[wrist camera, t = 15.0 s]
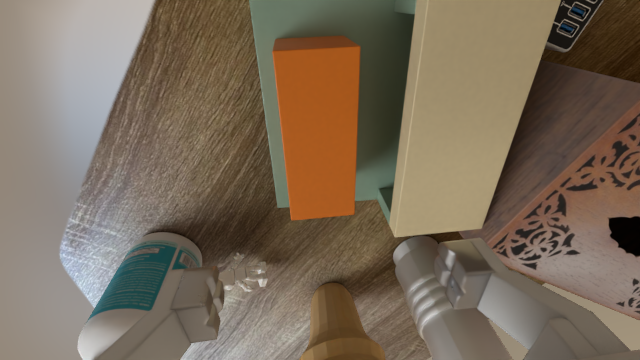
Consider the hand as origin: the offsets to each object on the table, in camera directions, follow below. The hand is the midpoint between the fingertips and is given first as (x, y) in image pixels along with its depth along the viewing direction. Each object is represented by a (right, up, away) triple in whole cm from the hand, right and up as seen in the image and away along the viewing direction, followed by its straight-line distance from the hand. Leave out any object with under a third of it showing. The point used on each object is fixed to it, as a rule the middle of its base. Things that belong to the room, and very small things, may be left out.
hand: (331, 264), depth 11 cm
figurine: (-12, -10, +26) cm, 30 cm away
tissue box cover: (+25, +4, +22) cm, 34 cm away
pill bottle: (-17, -5, +22) cm, 28 cm away
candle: (+12, -6, +26) cm, 29 cm away
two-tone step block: (+3, +10, +15) cm, 18 cm away
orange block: (-1, +8, +11) cm, 14 cm away
